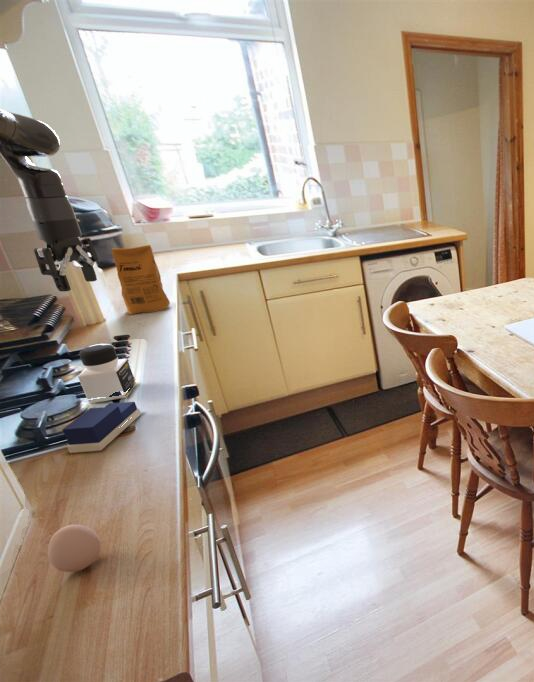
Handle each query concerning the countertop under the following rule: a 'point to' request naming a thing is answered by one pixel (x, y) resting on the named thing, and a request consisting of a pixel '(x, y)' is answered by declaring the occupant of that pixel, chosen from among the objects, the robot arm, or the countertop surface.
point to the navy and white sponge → (99, 426)
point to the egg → (73, 548)
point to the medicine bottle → (104, 373)
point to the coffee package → (140, 279)
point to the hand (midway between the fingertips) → (78, 285)
